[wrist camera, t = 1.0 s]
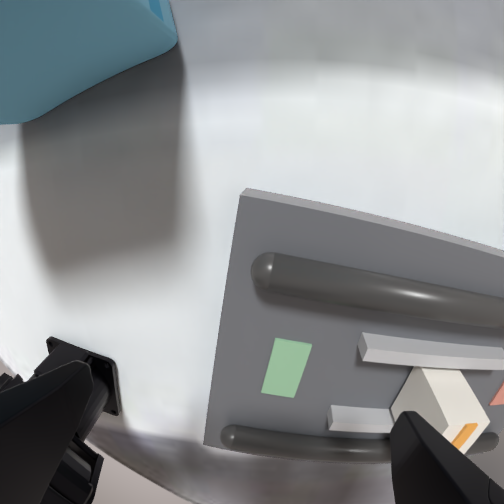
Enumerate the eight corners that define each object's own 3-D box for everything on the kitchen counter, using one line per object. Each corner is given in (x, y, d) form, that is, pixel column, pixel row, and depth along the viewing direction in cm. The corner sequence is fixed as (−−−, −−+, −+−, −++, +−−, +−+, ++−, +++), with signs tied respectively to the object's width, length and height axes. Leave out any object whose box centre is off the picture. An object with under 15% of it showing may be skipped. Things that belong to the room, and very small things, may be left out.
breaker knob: (427, 409, 17) (451, 471, 12) (390, 408, 17) (410, 476, 12) (455, 362, 16) (492, 423, 11) (417, 359, 16) (450, 427, 11)
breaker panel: (474, 436, 22) (488, 466, 18) (209, 421, 23) (198, 462, 19) (565, 272, 16) (596, 293, 12) (246, 188, 17) (234, 201, 13)
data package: (171, -13, 13) (61, -126, 2) (186, 46, 15) (51, -60, 3) (22, 70, 15) (-113, 62, 4) (30, 124, 17) (-118, 142, 5)
